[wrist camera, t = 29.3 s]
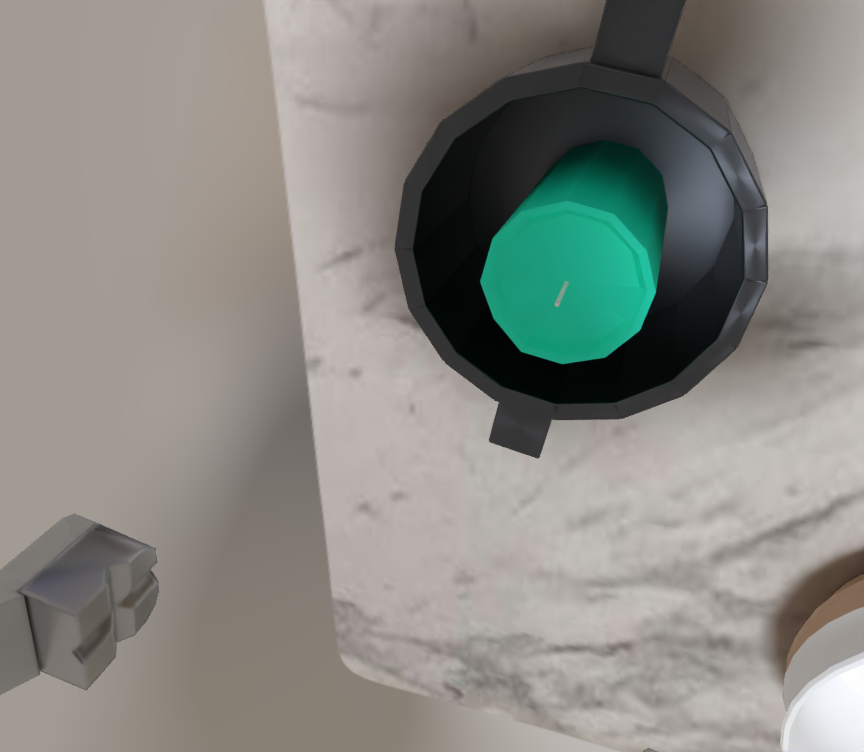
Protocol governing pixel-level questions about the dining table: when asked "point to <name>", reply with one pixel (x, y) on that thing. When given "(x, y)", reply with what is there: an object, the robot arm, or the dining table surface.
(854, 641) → the bowl
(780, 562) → the dining table surface
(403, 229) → the pot
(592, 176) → the candle
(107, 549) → the robot arm
